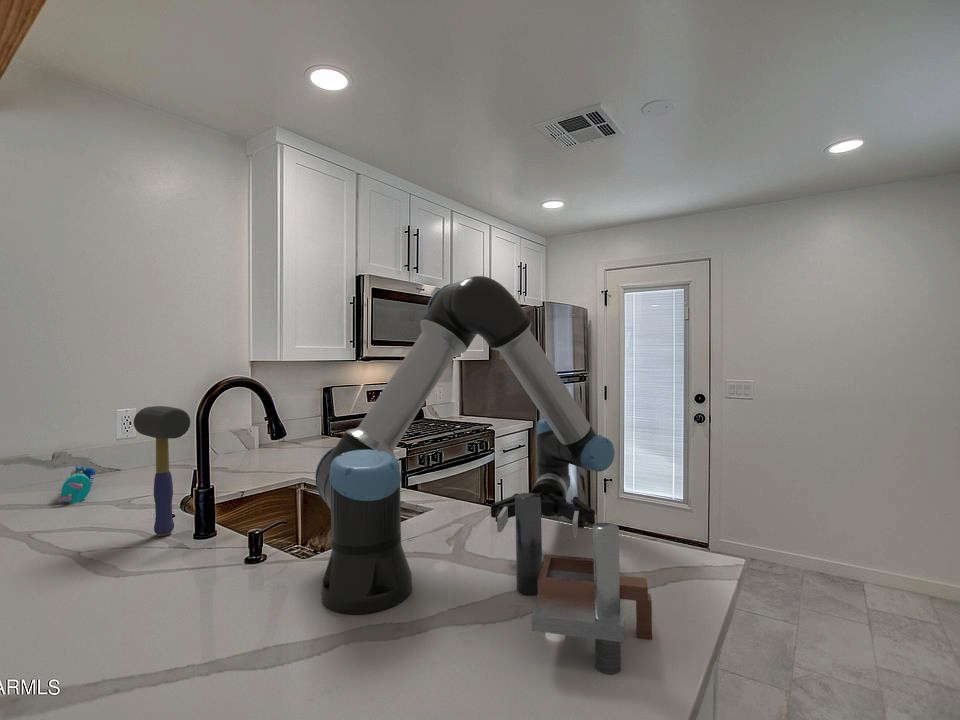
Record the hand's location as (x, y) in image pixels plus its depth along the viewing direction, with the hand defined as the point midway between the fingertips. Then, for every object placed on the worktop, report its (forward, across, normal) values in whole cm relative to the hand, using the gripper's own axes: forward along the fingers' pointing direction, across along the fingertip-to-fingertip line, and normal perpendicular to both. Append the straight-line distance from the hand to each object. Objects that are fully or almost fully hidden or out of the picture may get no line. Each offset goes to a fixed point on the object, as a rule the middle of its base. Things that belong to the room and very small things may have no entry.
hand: (536, 527), depth 87 cm
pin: (+4, +1, -9) cm, 10 cm away
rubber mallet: (-5, +88, -10) cm, 88 cm away
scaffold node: (+17, -10, -9) cm, 22 cm away
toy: (-29, +146, -10) cm, 150 cm away
